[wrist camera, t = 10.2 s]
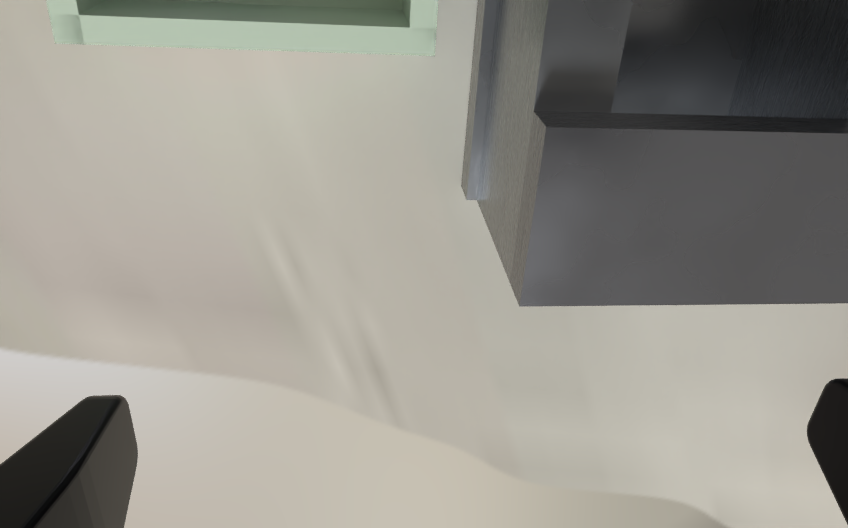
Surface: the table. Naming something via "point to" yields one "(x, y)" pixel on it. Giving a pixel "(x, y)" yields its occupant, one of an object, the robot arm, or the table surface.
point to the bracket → (662, 149)
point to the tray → (251, 24)
